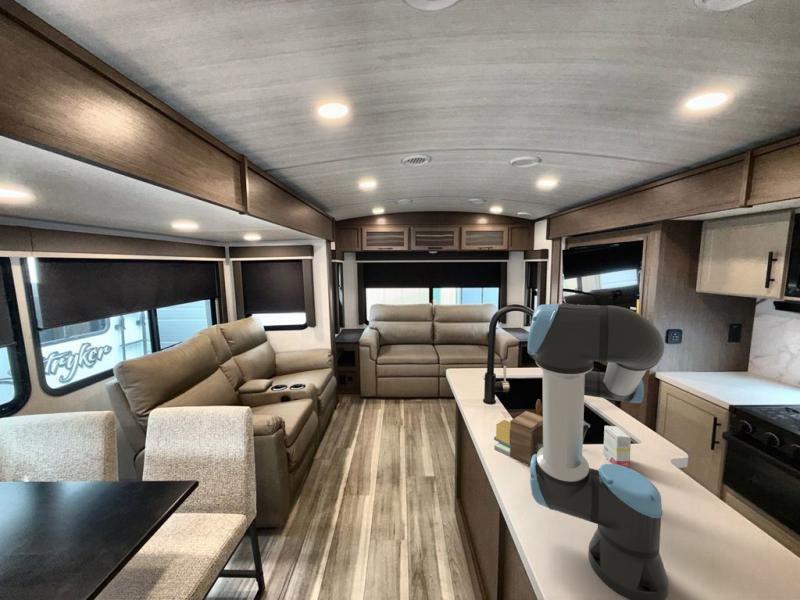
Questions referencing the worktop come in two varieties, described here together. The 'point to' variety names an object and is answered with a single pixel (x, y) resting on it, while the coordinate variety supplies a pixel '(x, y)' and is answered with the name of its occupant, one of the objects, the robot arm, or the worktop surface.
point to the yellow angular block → (504, 435)
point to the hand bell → (538, 407)
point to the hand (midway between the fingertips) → (567, 464)
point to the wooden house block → (525, 436)
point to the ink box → (617, 446)
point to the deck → (503, 448)
